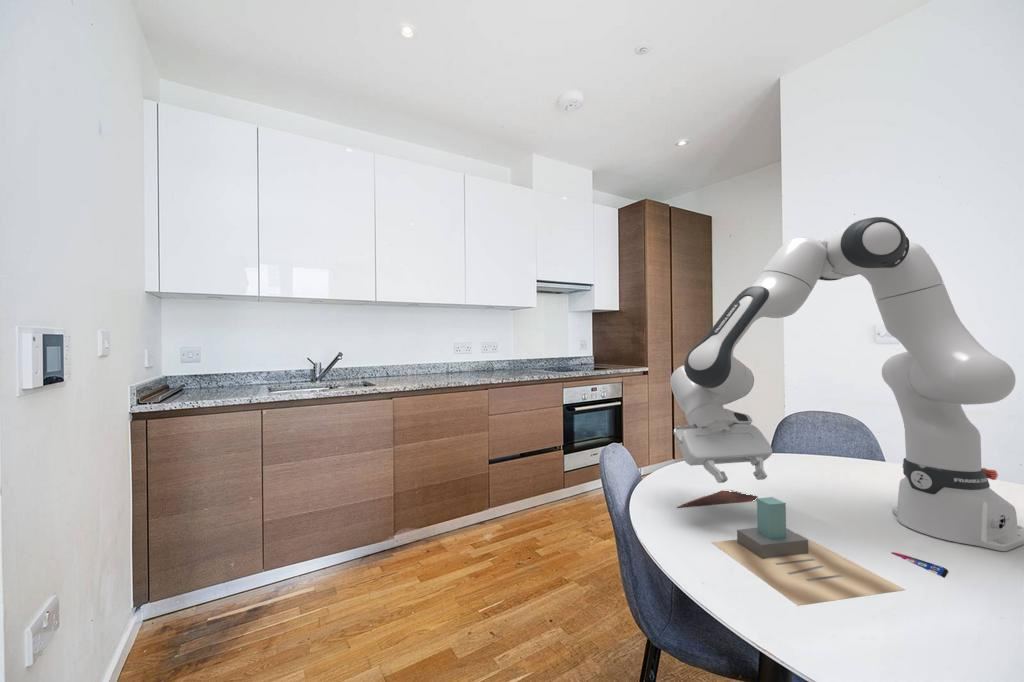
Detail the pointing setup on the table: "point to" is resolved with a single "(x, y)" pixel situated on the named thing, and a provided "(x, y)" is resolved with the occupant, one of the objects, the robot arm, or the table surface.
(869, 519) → the table surface
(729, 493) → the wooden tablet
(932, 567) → the blue red thin stick
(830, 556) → the board
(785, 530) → the sanding block
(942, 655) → the table surface
